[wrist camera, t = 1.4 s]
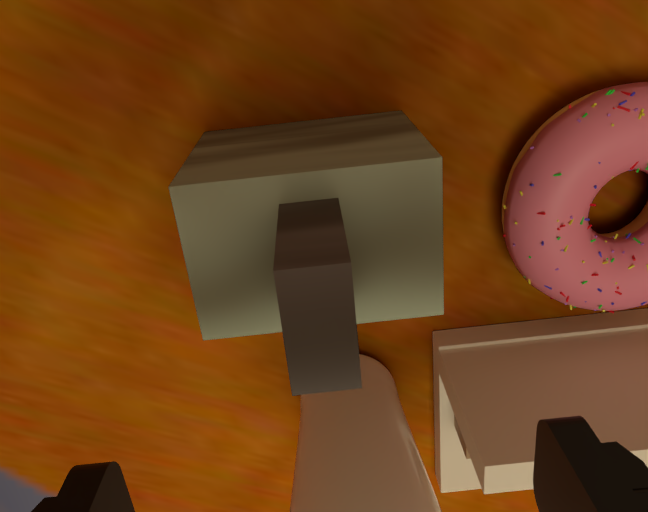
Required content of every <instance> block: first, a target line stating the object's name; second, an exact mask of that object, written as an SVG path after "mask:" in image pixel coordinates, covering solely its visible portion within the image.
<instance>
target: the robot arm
mask: <svg viewBox="0 0 648 512" xmlns="http://www.w3.org/2000/svg"><path fill="white" fill-rule="evenodd" d="M533 488H534V494H535V499H536V503H537V506H538V509H539V512H648V467H647V466H646V464H645V463H644V462H643V461H642V460H641V459H639V458H638V457H637V456H635V455H634V454H633V453H631V452H630V451H629V450H627V449H626V448H625V447H623V446H622V445H621V444H619V443H618V442H617V441H615V442H606V443H601V442H600V440H599V439H598V437H597V436H596V434H595V433H594V431H593V430H592V428H591V427H590V425H589V424H588V422H587V421H586V420H585V419H584V418H583V417H582V416H571V417H561V418H551V419H541V420H539V422H538V424H537V430H536V444H535V457H534V470H533ZM31 512H135V510H134V507H133V504H132V501H131V498H130V495H129V492H128V489H127V486H126V483H125V480H124V477H123V474H122V471H121V468H120V466H119V464H118V463H117V462H105V463H95V464H85V465H76V466H74V467H73V468H72V469H71V470H70V471H69V473H68V475H67V477H66V479H65V481H64V483H63V485H62V487H61V489H60V491H59V493H58V495H57V497H47V498H44V499H43V500H42V501H41V502H40V503H39V504H38V505H37V506H36V507H35V508H34V509H33V510H32V511H31Z"/></svg>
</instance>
